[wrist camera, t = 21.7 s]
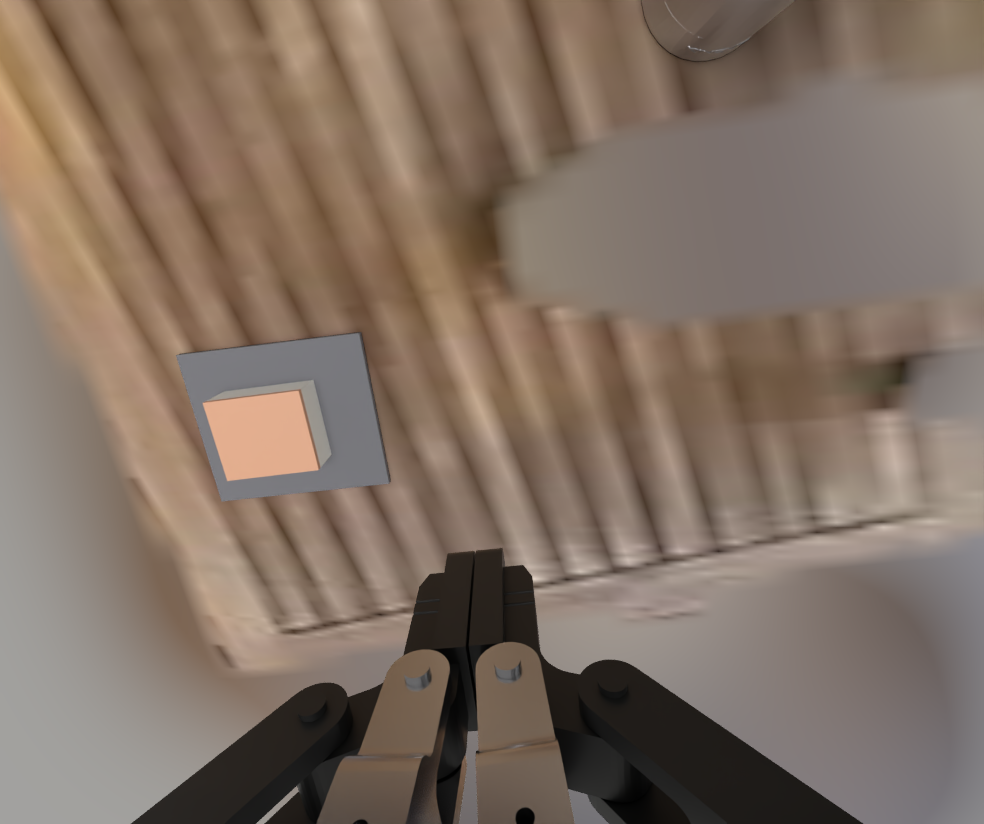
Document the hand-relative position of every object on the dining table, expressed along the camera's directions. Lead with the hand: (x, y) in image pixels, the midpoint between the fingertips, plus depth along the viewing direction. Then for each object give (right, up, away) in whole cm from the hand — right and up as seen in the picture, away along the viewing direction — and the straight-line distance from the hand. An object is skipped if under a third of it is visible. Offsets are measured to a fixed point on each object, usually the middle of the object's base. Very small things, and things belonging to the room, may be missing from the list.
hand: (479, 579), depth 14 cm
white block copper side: (-15, +3, +30) cm, 34 cm away
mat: (-18, +4, +33) cm, 37 cm away
